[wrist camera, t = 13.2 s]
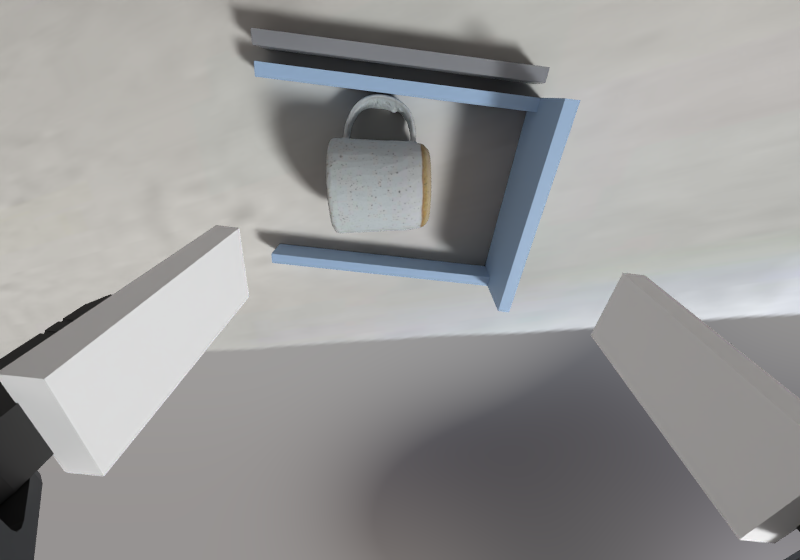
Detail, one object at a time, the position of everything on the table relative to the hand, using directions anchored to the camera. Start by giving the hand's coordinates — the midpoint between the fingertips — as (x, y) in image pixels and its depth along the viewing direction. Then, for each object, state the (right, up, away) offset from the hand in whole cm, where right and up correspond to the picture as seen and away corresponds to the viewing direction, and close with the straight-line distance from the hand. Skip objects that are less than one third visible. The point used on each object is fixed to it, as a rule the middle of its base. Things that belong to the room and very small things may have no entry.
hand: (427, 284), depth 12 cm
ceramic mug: (-3, +11, +19) cm, 22 cm away
